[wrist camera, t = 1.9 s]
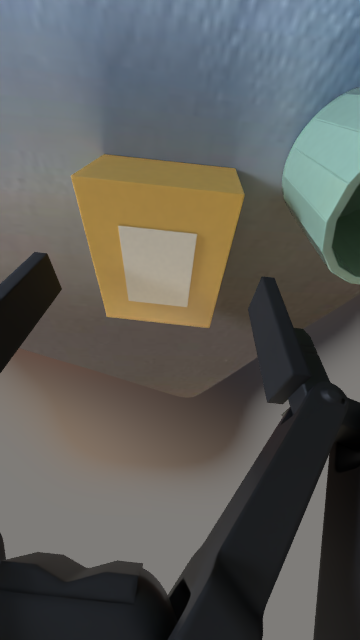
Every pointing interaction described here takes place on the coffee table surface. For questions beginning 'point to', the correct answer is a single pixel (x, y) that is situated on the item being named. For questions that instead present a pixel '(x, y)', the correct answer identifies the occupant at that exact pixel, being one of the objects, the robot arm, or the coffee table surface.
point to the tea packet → (158, 235)
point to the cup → (329, 184)
